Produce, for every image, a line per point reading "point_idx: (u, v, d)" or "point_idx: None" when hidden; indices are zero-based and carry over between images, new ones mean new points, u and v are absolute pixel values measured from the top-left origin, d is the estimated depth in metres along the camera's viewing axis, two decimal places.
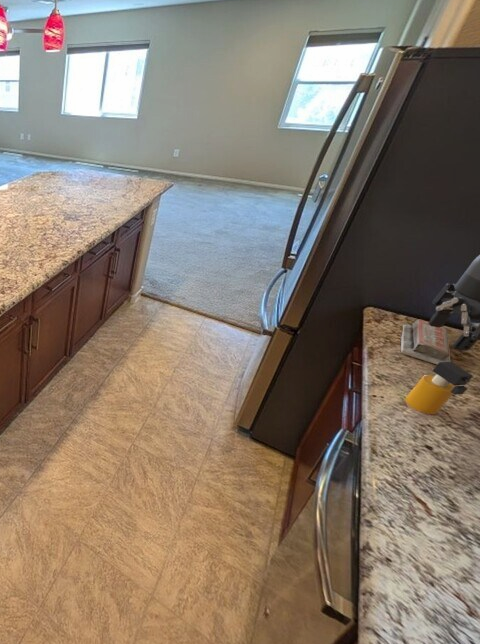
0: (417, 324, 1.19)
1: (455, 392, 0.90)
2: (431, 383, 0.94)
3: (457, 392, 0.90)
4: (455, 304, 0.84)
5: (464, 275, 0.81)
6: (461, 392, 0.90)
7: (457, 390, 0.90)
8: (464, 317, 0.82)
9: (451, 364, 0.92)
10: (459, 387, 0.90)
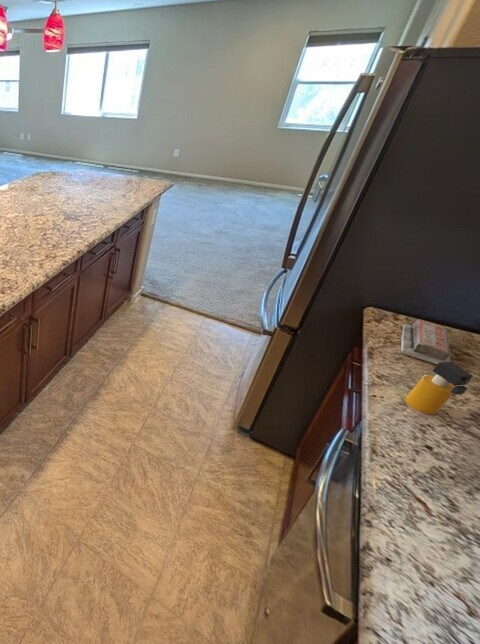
0: (417, 324, 1.19)
1: (455, 392, 0.90)
2: (431, 383, 0.94)
3: (457, 392, 0.90)
4: None
5: None
6: (461, 392, 0.90)
7: (457, 390, 0.90)
8: None
9: (451, 364, 0.92)
10: (459, 387, 0.90)
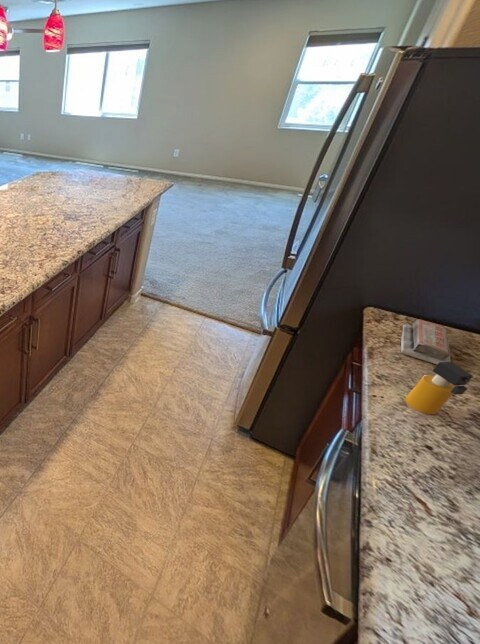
0: (417, 324, 1.19)
1: (455, 392, 0.90)
2: (431, 383, 0.94)
3: (457, 392, 0.90)
4: None
5: None
6: (461, 392, 0.90)
7: (457, 390, 0.90)
8: None
9: (451, 364, 0.92)
10: (459, 387, 0.90)
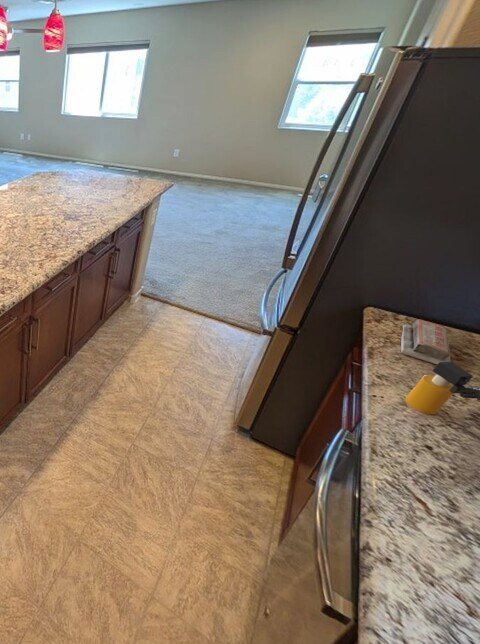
0: (417, 324, 1.19)
1: (453, 391, 0.91)
2: (431, 383, 0.94)
3: (455, 391, 0.91)
4: None
5: None
6: None
7: (455, 389, 0.90)
8: None
9: (451, 364, 0.92)
10: (457, 386, 0.90)
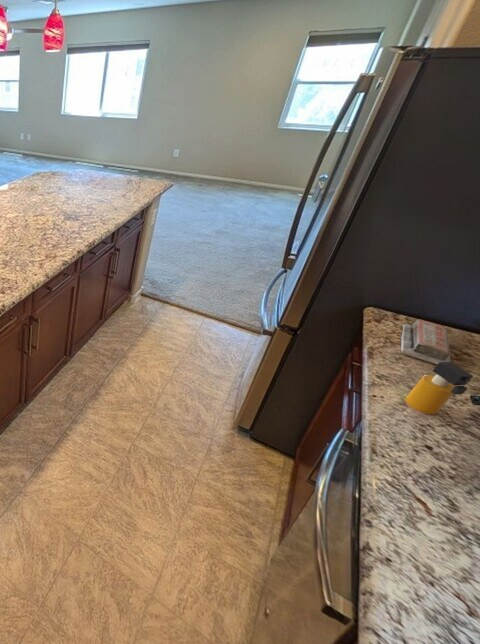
0: (417, 324, 1.19)
1: (455, 392, 0.90)
2: (431, 383, 0.94)
3: (457, 392, 0.90)
4: None
5: None
6: (461, 392, 0.90)
7: (457, 390, 0.90)
8: None
9: (451, 364, 0.92)
10: (459, 387, 0.90)
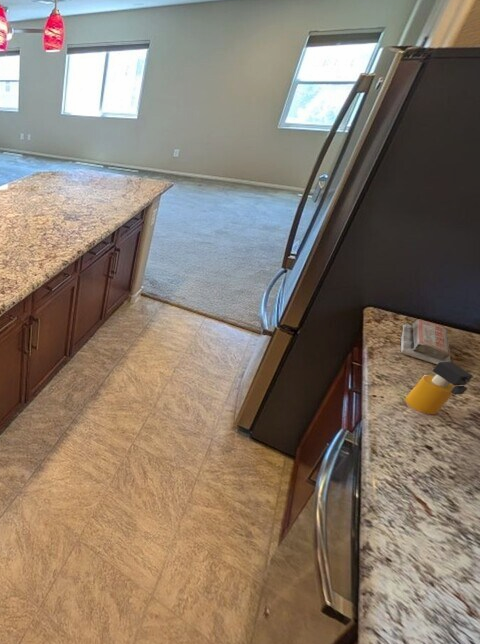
0: (417, 324, 1.19)
1: (455, 392, 0.90)
2: (431, 383, 0.94)
3: (457, 392, 0.90)
4: None
5: None
6: (461, 392, 0.90)
7: (457, 390, 0.90)
8: None
9: (451, 364, 0.92)
10: (459, 387, 0.90)
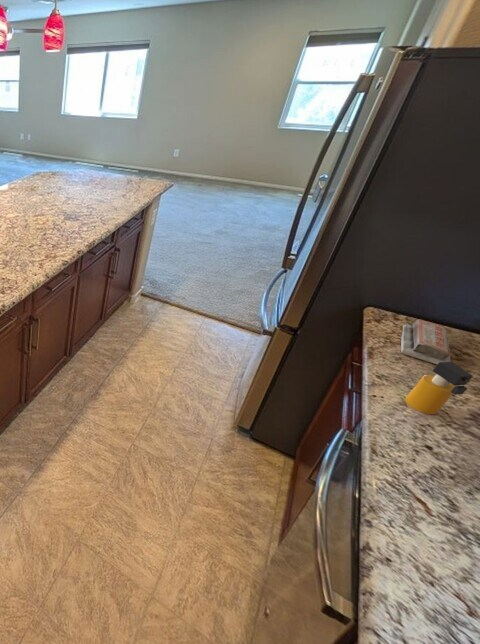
0: (417, 324, 1.19)
1: (455, 392, 0.90)
2: (431, 383, 0.94)
3: (457, 392, 0.90)
4: None
5: None
6: (461, 392, 0.90)
7: (457, 390, 0.90)
8: None
9: (451, 364, 0.92)
10: (459, 387, 0.90)
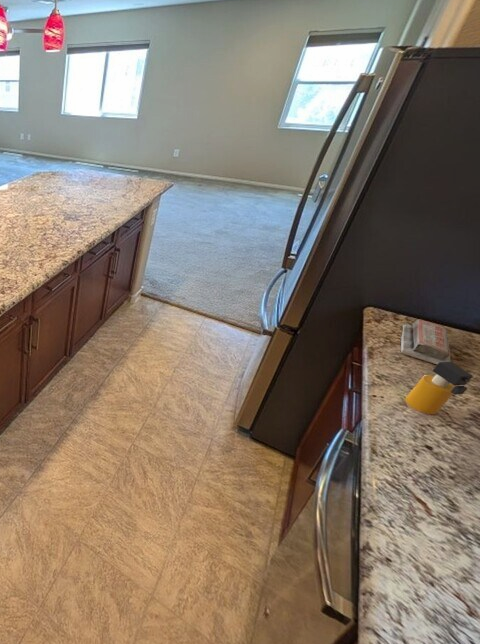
0: (417, 324, 1.19)
1: (455, 392, 0.90)
2: (431, 383, 0.94)
3: (457, 392, 0.90)
4: None
5: None
6: (461, 392, 0.90)
7: (457, 390, 0.90)
8: None
9: (451, 364, 0.92)
10: (459, 387, 0.90)
